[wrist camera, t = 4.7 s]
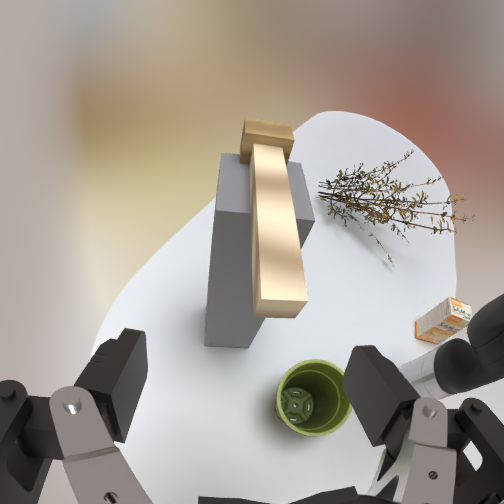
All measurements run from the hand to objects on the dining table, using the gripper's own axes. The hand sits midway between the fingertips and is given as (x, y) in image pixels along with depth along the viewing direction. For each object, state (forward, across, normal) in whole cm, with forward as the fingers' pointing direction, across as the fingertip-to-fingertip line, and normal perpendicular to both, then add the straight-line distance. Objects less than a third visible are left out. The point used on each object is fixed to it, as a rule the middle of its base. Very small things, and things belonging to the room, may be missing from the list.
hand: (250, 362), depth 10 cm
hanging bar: (+14, -2, -4) cm, 14 cm away
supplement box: (+38, -49, +21) cm, 66 cm away
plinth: (+38, -1, +20) cm, 43 cm away
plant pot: (+27, -13, +29) cm, 42 cm away
